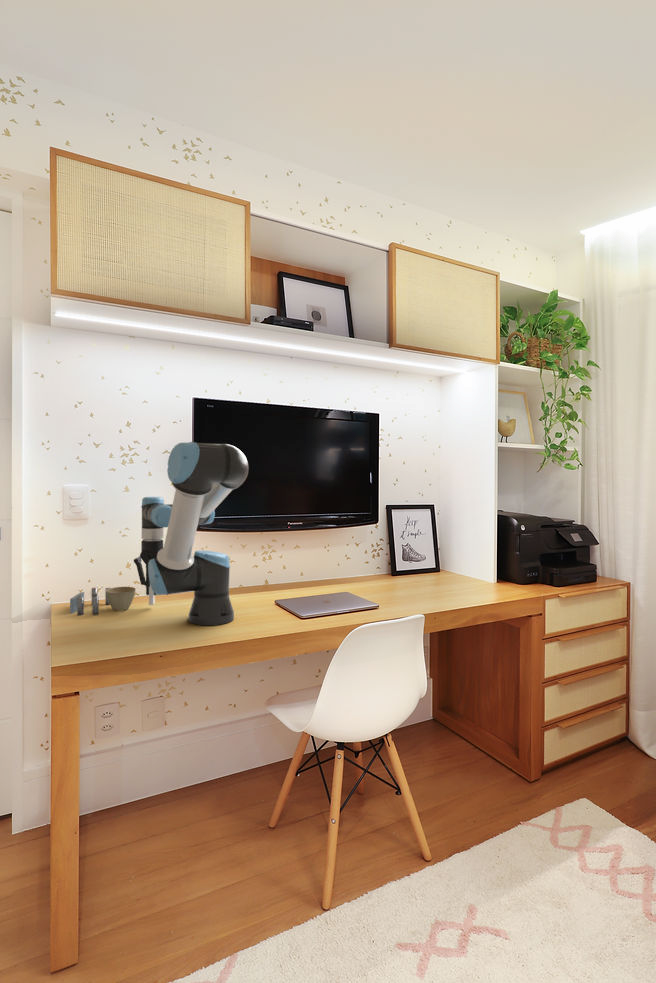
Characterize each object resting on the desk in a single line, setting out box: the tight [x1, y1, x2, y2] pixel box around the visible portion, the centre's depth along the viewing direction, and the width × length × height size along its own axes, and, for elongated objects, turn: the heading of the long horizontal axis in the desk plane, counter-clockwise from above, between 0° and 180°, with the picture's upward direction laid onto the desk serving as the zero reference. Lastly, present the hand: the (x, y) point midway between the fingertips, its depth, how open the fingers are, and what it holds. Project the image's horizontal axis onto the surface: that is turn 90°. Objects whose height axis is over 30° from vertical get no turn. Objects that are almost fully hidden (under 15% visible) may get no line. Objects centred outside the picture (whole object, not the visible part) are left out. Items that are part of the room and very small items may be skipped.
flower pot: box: [106, 586, 136, 612], centre depth 190 cm, size 10×10×7 cm
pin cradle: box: [69, 587, 111, 616], centre depth 189 cm, size 10×16×6 cm, turn 6°
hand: (151, 603), depth 191 cm, fingers closed
